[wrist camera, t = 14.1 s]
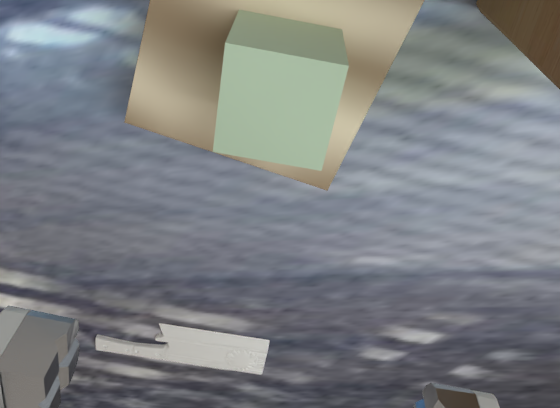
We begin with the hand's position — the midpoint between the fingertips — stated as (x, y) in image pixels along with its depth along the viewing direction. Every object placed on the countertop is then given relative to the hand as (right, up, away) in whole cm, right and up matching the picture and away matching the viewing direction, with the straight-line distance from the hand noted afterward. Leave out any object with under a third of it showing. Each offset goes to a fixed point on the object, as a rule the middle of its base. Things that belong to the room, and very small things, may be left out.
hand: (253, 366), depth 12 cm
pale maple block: (0, +14, +18) cm, 23 cm away
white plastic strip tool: (-8, -8, +34) cm, 36 cm away
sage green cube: (+1, +11, +14) cm, 18 cm away
